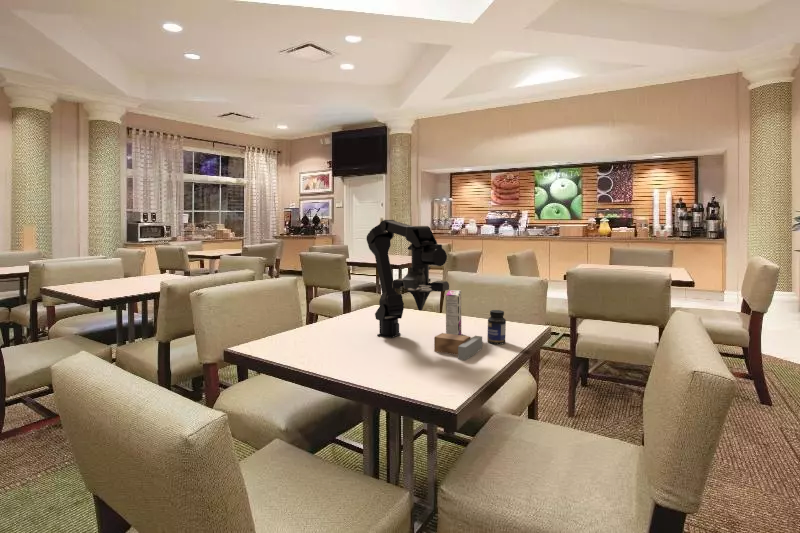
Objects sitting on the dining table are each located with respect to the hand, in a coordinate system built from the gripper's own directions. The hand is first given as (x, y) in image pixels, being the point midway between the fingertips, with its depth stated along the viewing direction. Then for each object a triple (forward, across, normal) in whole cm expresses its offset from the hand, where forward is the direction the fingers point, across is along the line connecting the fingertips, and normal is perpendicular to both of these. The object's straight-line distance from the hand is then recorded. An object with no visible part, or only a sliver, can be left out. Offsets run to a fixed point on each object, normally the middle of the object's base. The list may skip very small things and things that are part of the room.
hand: (420, 310), depth 159 cm
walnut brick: (+13, +12, 0) cm, 17 cm away
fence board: (+12, +18, 0) cm, 22 cm away
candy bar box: (+12, +5, +17) cm, 22 cm away
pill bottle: (+13, +21, +17) cm, 30 cm away
